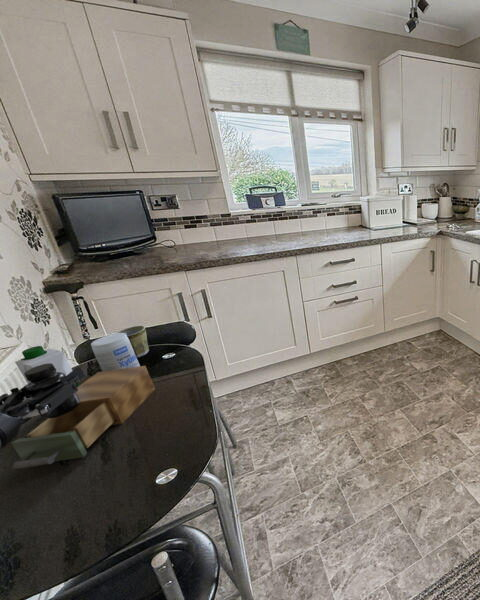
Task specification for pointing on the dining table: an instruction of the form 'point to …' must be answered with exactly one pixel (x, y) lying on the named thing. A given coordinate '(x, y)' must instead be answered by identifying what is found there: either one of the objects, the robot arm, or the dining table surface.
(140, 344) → the ceramic cup
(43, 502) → the dining table surface
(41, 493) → the dining table surface
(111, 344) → the supplement tub
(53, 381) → the supplement bottle
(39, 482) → the dining table surface
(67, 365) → the milk carton
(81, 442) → the drawer
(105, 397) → the cabinet
